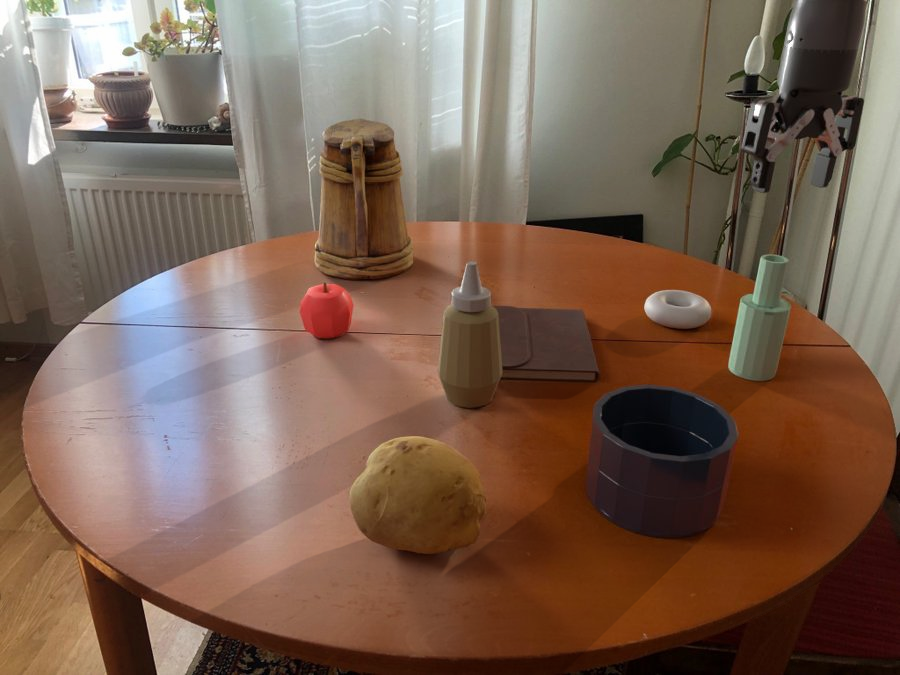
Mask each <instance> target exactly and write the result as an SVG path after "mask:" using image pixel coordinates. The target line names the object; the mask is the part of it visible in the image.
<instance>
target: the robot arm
mask: <svg viewBox="0 0 900 675" xmlns="http://www.w3.org/2000/svg"><path fill="white" fill-rule="evenodd" d="M867 3H868V0H794V3H793V6H792V9H791V12H790V15H789V18H788V22H787V27H786V33H785V37H784V43H783V48H782V53H781V58H780V63H779V68H778V74H777V77H776V85H777V86H778V91H779V92H778V96H777V97H776V99H775V100H774V101H767V100H764V99H759V98H755V99H754V100H753V101H752V102H751V104H750V108H749V114H748V117H747V121H746V125H745V131H744V134H743V139H742V144H741V147H740V148H741V152H742V153H745V154H747V155H750V156H752V157H753V158H754V159H753V160H754V163H753V167H752V172H751V177H750V185H751V186H752V187H751V188H752V189H753V191H756V192H758V193H760V194H766V193H769V192H770V191H771V185H772V181H773V176H774V171H775V166H776V161H774V160H775V159H777V157H778V155H779V154H780V153H781V152H782V150H783V149H785V147H789V146H790V145H791V144H792V143H793V141H794V140H803V139H805V138H810V139H813V140H814V142H815V144H816V146H817V149H818V151H819V152H820V153H816V154H815V159H814V163H813V168H812V172H811V176H810V181H809V182H810V184H811V185H812V186H814V187H816V188H820V189H822V188H823V189H824V188H827V187H828V186H829V183H830V182H831V180H832V179H833V176H834V171H835V167H836V162H837V158H838V157H839V156H841V154H842V152H845V151H852V150H853V149H854V148H855V147H856V143H857V140H858V134H859V129H860V124H861V119H862V115H863V109H864V104H865V100H864V98H863V97H859V96H855V95H848V94H843V92H845V91H846V90H848V89H849V88H850V86H851V82H852V77H853V72H854V69H855V64H856V61H857V56H858V52H859V48H860V43H861V39H862V36H863V31H864V27H865V26H864V25H865V21H866V10H867ZM779 132H780V133H779ZM845 132H846V134H845Z"/></svg>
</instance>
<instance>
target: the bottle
mask: <svg viewBox="0 0 900 675" xmlns="http://www.w3.org/2000/svg"><path fill="white" fill-rule="evenodd" d="M789 262H790V260H789V258H787V257H785V256H783V255H778V254H772V253H768V254H763V255H761V256H760V259H759V265H758V270H757V274H756V279H755V284H754V289H753V293H747V294H744V295H743V296H742V297H741V298H740V301H739V306H738V310H737V316H736V321H735V322H736V323H735V326H734V332H733V338H732V343H731V347H730V353H729V359H728V366H727V367H728V370H729V372H731V373H732V374H733V375H735V376H737V377H738V378H741V379H744V380H747V381H754V382H767V381H770V380H772V379H774V378H775V377H776V374H777V371H778V366H779V363H780V358H781V355H782V354H781V353H782V349H783V345H784V340H785V335H786V331H787V328H788V323H789V318H790V313H791V310H792V305H791V303H790V302H789V301H788V300H786V299H785V298H782V294H783V290H784V285H785V280H786V275H787V271H788V266H789V264H790V263H789Z"/></svg>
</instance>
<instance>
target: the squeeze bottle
mask: <svg viewBox="0 0 900 675" xmlns="http://www.w3.org/2000/svg"><path fill="white" fill-rule="evenodd" d="M493 306H494V305H492V292H491V290H490V289H488V288H487V287H485V286H483V285H482V281H481V277H480V273H479V268H478V263H477V262H476V261H467V262H466V264H465V267H464V272H463V277H462V280H461V286H457V287H456V288H454V289H453V290H451V304H450V305H448V306H447V307H446V308H445V309H444V310H443V317H442V325H441V326H442V327H441V336H440V337H441V338H440V345H439V355H438V363H437V364H438V365H437V374H438V378H439V380H440V383H441V386H442V388H443V391H444V394H445V396H446V398H447V400H448V402H450V403H451V404H453V405H455V406H458V407H460V408H468V409H471V408H479V407H483V406H486V405H488V404H489V403H490V402H492V400H493V398H494V396H495V393H496V391H497V388H498V386H499V384H500V380H501V379H500V378H501V376H502V373H503V371H502V357H501V344H500V331H499V318H498V312H497V310H496V309H495V308H494V307H493Z"/></svg>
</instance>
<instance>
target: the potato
mask: <svg viewBox="0 0 900 675" xmlns="http://www.w3.org/2000/svg"><path fill="white" fill-rule="evenodd" d="M485 494H486V493H485V490H484V484H483V480H482V478H481V475H480V473H479V472H478V470H477V468H476V467H475V466H474V464H473V463H472V462H471V461H470V460H469V459H468V458H467V457H466V456H464V455H463V454H462V453H460V452H459V451H457V450H456V449H455V448H454V447H452V446H450V445H448V444H447V443H445V442H442V441H440V440H437V439H434V438H430V437H426V436H420V435H419V436H418V435H415V436H414V435H413V436H410V435H409V436H400V437H395V438H392V439H390V440H387V441H385V442H383V443H380V444H379V445H378V446H377V447H376V448H375V449H373V451H372V452H371V453H370V454H369V456H368V458H367V460H366V462H365V469H364V470H363V472H362V473H361V474H360V475H359V476H358V477H356V478H355V481H354V482H353V484H352V485H351V488H350V490H349V494H348V495H349V506H350V510H351V515H352V516H353V519H354V522H355V524H356V526H357V528H358V530H359V531H360V532H361V534H362V535H363V536H364V537H366V538H367V539H368V540H370V541H371V542H372V543H373V542H374V543H375V544H377V545H381V546H384V547H387V548H391V549H395V550H399V551H400V550H401V551H407V552H413V553H417V554H425V555H433V554H439V553H444V552H449V551H453V550H455V549H459V548H468V547H469V546H470V545H472V544H476V542H477V541H478V538H479V535H480V531H481V530H480V529H481V523H482V521H483V520H484V518H485V517H486V516H485V515H486V513H487V506H486V501H487V500H486V499H487V498H486V495H485Z"/></svg>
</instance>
